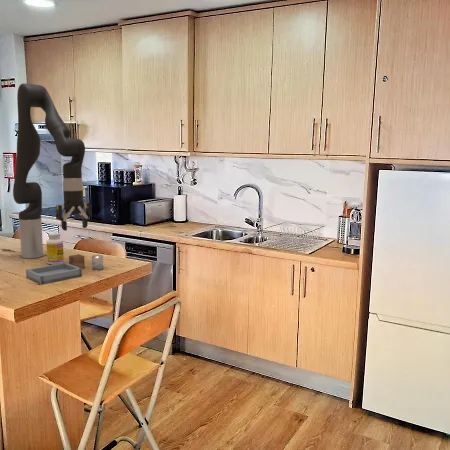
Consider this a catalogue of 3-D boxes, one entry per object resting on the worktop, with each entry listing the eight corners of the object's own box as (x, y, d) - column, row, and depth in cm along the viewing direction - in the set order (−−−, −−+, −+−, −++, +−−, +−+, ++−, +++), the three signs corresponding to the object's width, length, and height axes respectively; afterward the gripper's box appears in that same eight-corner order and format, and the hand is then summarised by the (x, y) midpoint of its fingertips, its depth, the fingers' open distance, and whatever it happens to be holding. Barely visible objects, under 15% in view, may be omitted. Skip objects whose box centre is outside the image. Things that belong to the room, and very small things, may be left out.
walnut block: (69, 267, 196) (68, 255, 195) (79, 265, 199) (78, 254, 198) (74, 269, 193) (74, 257, 192) (84, 267, 196) (84, 256, 195)
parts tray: (26, 277, 181) (26, 269, 180) (66, 269, 192) (65, 262, 192) (41, 284, 172) (40, 276, 171) (81, 276, 183) (81, 268, 182)
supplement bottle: (58, 265, 199) (57, 235, 197) (44, 264, 200) (42, 234, 198) (66, 261, 205) (65, 232, 203) (53, 260, 207) (51, 231, 205)
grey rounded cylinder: (90, 269, 194) (89, 255, 193) (99, 267, 197) (99, 254, 196) (95, 271, 191) (95, 257, 190) (105, 269, 194) (105, 256, 193)
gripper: (84, 187, 198) (86, 225, 201) (51, 189, 188) (53, 229, 191) (93, 188, 193) (95, 228, 195) (60, 191, 183) (62, 232, 185)
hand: (74, 229), depth 193 cm, fingers open, 8 cm apart
